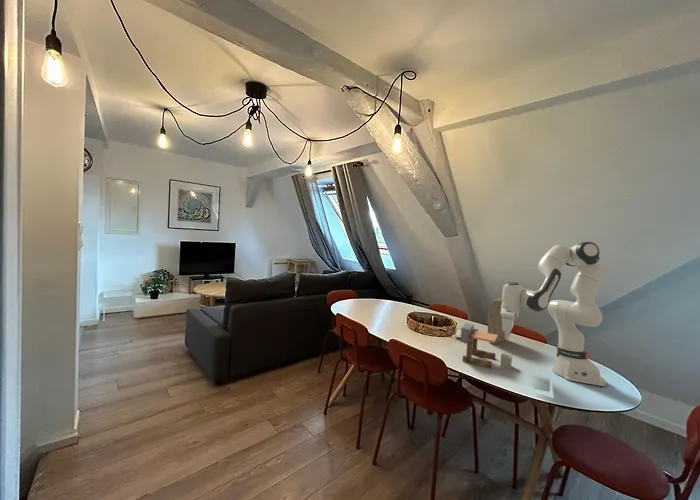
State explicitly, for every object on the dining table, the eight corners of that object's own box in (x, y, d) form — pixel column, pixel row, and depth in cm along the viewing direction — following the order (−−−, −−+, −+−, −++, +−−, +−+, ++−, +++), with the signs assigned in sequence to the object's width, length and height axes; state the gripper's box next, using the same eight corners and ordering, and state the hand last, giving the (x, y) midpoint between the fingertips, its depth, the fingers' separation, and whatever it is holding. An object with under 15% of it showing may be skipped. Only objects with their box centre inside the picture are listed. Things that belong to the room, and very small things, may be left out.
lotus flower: (452, 342, 208) (453, 329, 207) (452, 335, 222) (452, 323, 221) (475, 345, 203) (476, 332, 203) (473, 338, 217) (474, 326, 217)
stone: (511, 366, 171) (512, 355, 170) (510, 369, 166) (511, 358, 166) (501, 363, 173) (502, 353, 173) (500, 366, 169) (501, 355, 169)
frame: (462, 361, 173) (464, 334, 173) (469, 352, 189) (470, 328, 188) (490, 368, 166) (492, 340, 165) (495, 358, 181) (497, 333, 180)
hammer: (460, 341, 176) (461, 328, 176) (465, 336, 188) (466, 323, 188) (493, 349, 167) (494, 334, 166) (497, 342, 178) (498, 328, 178)
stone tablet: (494, 346, 203) (497, 300, 202) (482, 342, 209) (485, 298, 208) (507, 340, 216) (510, 298, 215) (495, 337, 222) (498, 296, 221)
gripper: (505, 308, 179) (503, 331, 180) (501, 313, 162) (498, 339, 162) (517, 310, 176) (515, 334, 176) (514, 316, 159) (512, 342, 159)
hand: (507, 337), depth 169 cm, fingers open, 8 cm apart
